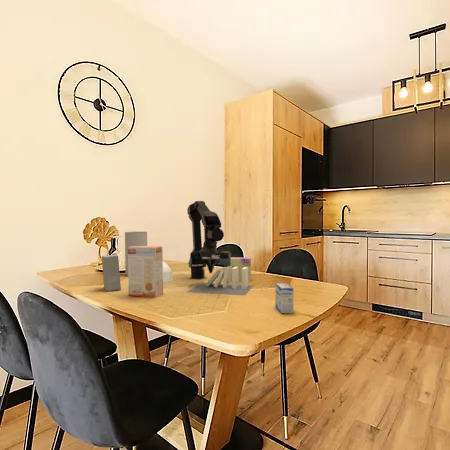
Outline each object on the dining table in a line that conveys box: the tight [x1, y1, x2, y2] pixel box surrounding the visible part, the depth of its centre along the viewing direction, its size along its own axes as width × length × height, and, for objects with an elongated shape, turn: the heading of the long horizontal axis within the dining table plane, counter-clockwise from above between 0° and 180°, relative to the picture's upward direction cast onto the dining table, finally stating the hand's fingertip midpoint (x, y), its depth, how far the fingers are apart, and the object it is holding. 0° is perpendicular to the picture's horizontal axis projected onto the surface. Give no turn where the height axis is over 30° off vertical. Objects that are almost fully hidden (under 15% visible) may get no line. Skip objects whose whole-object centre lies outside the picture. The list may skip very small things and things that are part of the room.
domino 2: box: [214, 266, 227, 288], centre depth 142 cm, size 2×6×9 cm, turn 165°
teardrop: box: [163, 260, 173, 284], centre depth 159 cm, size 11×11×12 cm
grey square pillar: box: [124, 231, 148, 277], centre depth 178 cm, size 12×12×25 cm
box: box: [229, 256, 252, 282], centre depth 158 cm, size 10×6×12 cm, turn 84°
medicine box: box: [274, 282, 295, 314], centre depth 106 cm, size 8×4×9 cm, turn 5°
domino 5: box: [241, 267, 249, 289], centre depth 139 cm, size 2×6×9 cm, turn 164°
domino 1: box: [205, 268, 222, 287], centre depth 143 cm, size 2×6×9 cm
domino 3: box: [222, 265, 231, 288], centre depth 142 cm, size 2×6×9 cm, turn 165°
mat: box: [186, 282, 254, 296], centre depth 138 cm, size 26×20×1 cm
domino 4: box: [231, 267, 240, 289], centre depth 141 cm, size 2×6×9 cm, turn 164°
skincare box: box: [101, 254, 122, 292], centre depth 141 cm, size 8×7×16 cm
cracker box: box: [127, 245, 164, 299], centre depth 128 cm, size 14×6×21 cm, turn 65°
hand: (210, 273), depth 144 cm, fingers closed
